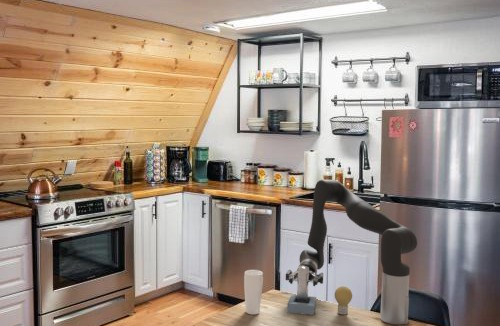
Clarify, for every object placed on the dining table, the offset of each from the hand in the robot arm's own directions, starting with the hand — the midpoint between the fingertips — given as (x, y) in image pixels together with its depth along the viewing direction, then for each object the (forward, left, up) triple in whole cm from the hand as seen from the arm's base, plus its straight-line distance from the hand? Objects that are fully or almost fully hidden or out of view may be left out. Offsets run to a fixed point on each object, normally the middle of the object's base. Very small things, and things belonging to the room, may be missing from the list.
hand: (302, 282), depth 193 cm
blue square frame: (0, -1, -10) cm, 11 cm away
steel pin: (0, -1, -10) cm, 11 cm away
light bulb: (-15, -1, -11) cm, 18 cm away
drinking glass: (+17, +8, -11) cm, 22 cm away
